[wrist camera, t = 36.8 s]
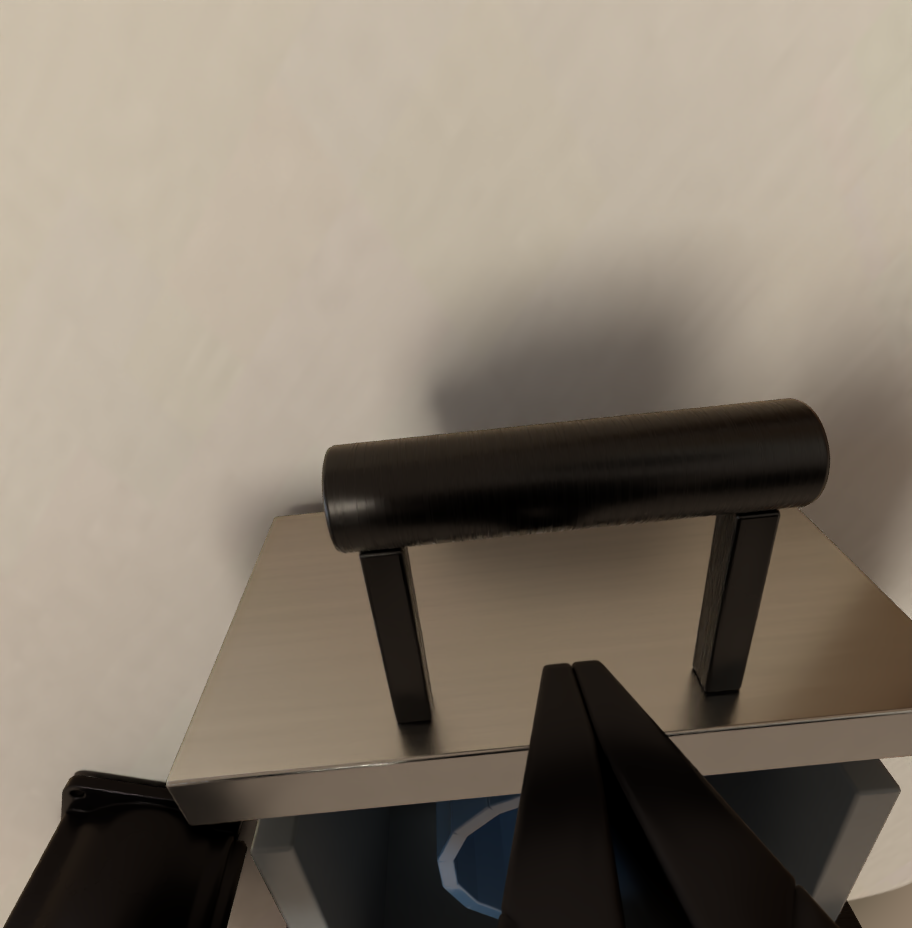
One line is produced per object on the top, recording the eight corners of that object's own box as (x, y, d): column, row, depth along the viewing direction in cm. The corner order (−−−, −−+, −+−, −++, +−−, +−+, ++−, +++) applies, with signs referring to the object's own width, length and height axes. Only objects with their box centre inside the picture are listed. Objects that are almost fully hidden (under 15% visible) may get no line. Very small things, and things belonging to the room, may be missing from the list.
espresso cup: (425, 591, 15) (423, 800, 10) (624, 571, 15) (716, 772, 10) (445, 720, 18) (451, 935, 13) (615, 703, 18) (686, 912, 13)
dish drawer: (217, 333, 13) (7, 524, 6) (794, 272, 12) (1169, 404, 6) (358, 790, 21) (328, 1064, 15) (701, 757, 21) (817, 1019, 15)
